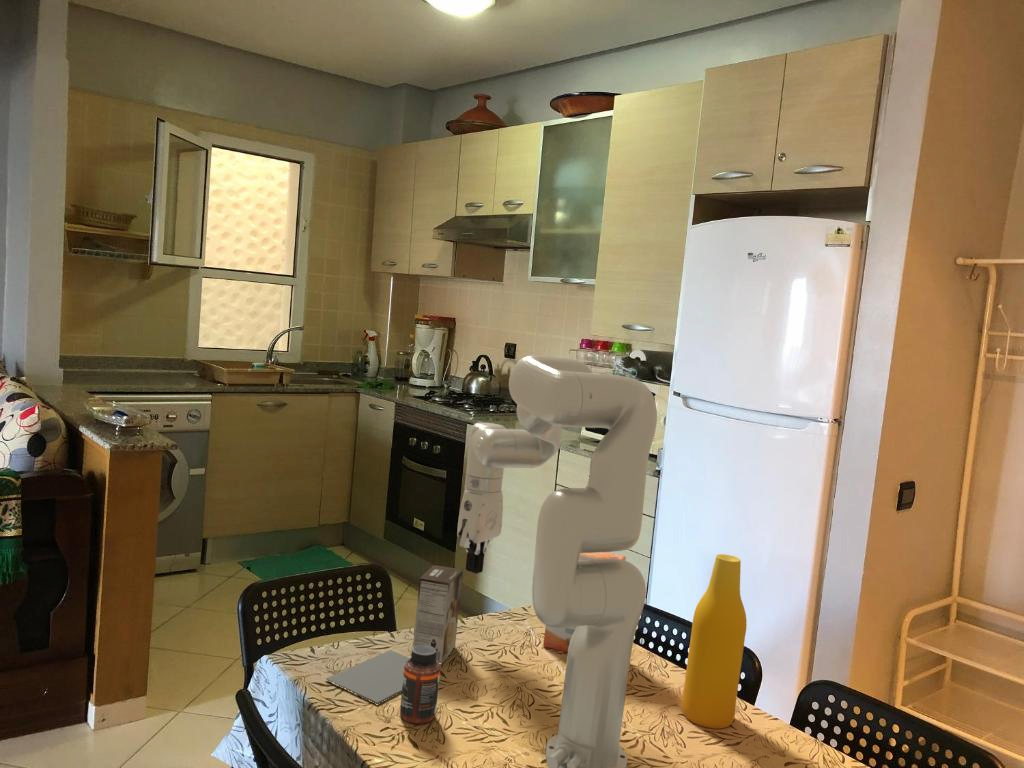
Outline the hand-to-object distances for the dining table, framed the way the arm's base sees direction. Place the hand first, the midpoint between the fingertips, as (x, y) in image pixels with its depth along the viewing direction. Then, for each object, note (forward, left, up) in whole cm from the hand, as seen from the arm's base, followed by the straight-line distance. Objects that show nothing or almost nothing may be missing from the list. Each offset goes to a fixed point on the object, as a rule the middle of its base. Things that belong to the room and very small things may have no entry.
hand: (473, 571), depth 162 cm
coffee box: (-11, 0, -14) cm, 18 cm away
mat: (-26, 0, -14) cm, 29 cm away
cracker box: (+12, -20, -14) cm, 27 cm away
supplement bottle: (-32, -13, -14) cm, 37 cm away
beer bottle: (+4, -50, -14) cm, 52 cm away
